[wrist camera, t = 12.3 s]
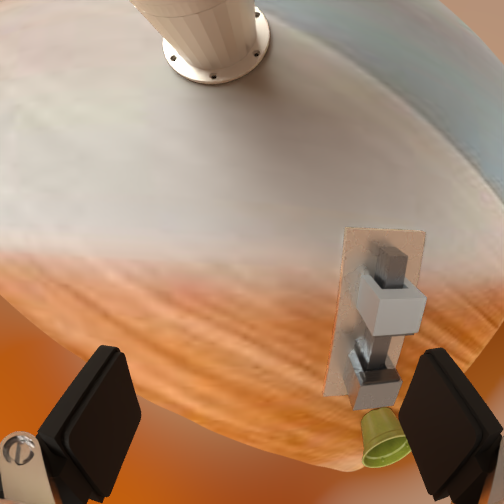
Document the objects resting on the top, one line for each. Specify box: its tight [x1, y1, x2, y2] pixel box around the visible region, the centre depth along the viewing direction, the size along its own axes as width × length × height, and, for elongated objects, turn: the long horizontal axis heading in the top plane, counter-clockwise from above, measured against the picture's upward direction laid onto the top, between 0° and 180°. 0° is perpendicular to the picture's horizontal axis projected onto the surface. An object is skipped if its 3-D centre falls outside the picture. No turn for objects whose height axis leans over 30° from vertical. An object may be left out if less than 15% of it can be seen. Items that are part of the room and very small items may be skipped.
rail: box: [322, 227, 426, 410], centre depth 35 cm, size 26×11×8 cm, turn 0°
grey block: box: [356, 275, 427, 338], centre depth 33 cm, size 5×6×7 cm
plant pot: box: [361, 407, 411, 468], centre depth 41 cm, size 9×9×9 cm
